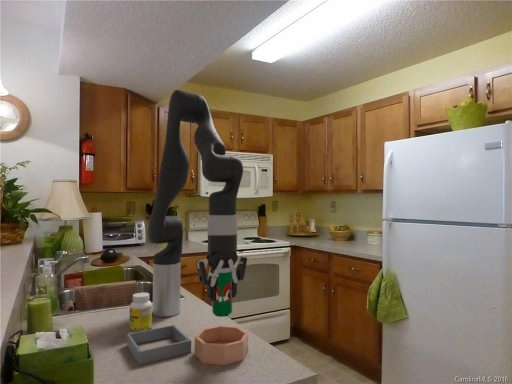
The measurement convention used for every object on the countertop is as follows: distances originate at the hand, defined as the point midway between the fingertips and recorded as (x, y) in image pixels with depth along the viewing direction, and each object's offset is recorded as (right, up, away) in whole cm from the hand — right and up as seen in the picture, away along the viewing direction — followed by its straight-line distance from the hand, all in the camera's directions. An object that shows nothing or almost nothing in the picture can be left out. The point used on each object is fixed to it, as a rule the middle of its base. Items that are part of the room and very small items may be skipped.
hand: (222, 298), depth 89 cm
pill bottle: (-25, -14, +13) cm, 32 cm away
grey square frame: (-17, -14, +2) cm, 22 cm away
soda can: (0, -4, 0) cm, 4 cm away
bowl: (0, -14, 0) cm, 14 cm away
